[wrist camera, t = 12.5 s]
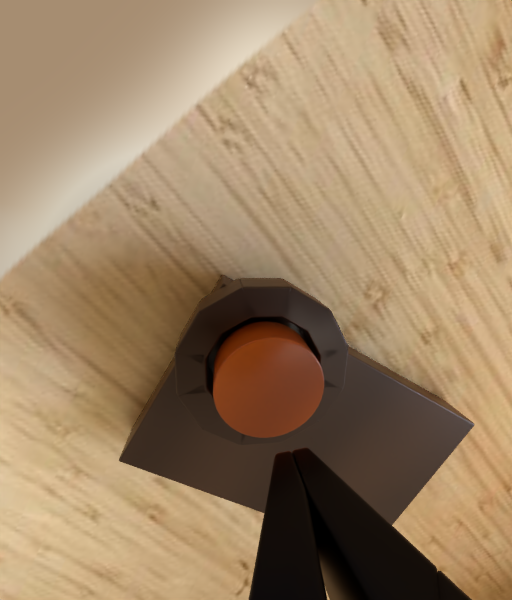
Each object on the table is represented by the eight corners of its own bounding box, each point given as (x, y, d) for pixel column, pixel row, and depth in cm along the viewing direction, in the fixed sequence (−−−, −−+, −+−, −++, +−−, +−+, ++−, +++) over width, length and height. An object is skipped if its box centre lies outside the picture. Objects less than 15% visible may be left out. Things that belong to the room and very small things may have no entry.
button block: (123, 426, 16) (92, 492, 12) (229, 243, 14) (233, 251, 10) (354, 516, 20) (387, 587, 16) (460, 382, 18) (526, 426, 14)
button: (195, 385, 12) (191, 413, 10) (246, 302, 11) (251, 317, 9) (277, 422, 13) (286, 453, 11) (328, 348, 12) (346, 368, 10)
